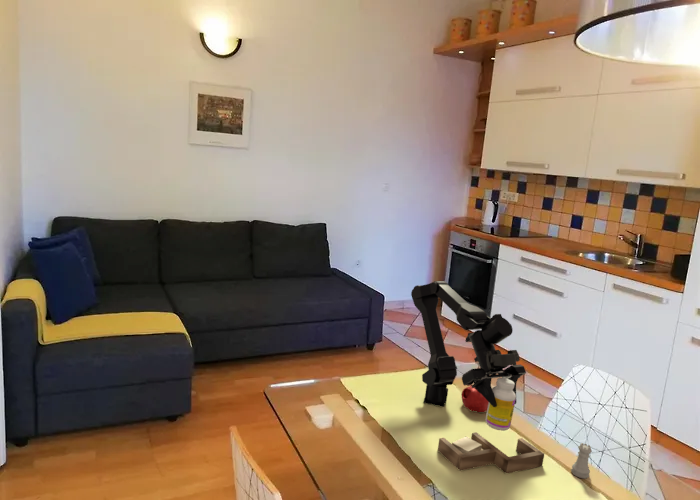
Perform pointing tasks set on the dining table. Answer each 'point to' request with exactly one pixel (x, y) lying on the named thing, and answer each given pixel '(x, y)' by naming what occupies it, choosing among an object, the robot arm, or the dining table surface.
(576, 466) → the rook chess piece
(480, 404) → the pomegranate
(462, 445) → the offcut stack
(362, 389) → the dining table surface
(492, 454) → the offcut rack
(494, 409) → the supplement bottle
